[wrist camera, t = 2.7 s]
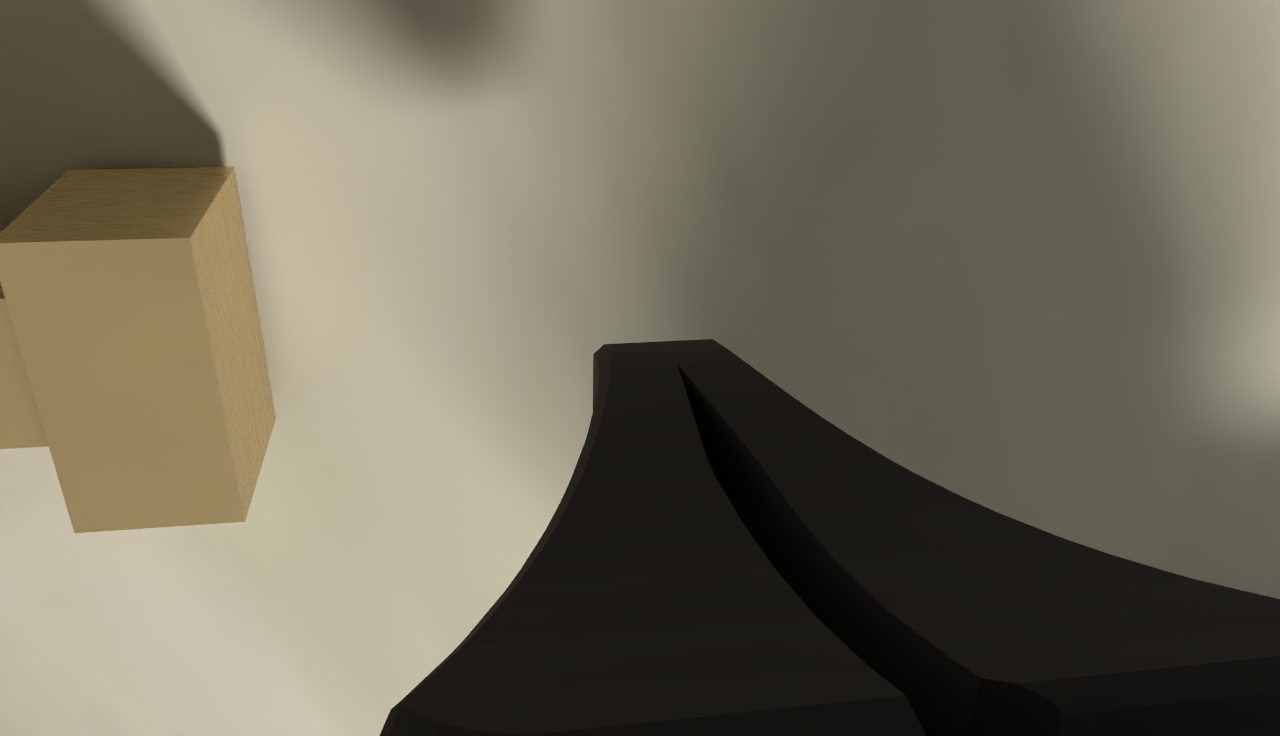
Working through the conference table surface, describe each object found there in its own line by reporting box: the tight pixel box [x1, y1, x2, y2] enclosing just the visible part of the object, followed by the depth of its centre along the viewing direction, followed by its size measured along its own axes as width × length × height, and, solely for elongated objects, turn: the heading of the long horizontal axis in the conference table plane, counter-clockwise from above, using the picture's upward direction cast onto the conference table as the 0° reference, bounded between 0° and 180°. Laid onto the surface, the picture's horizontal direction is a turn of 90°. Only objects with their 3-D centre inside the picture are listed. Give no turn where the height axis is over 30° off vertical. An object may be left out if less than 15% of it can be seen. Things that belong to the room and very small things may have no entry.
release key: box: [0, 167, 276, 533], centre depth 13 cm, size 4×4×2 cm
